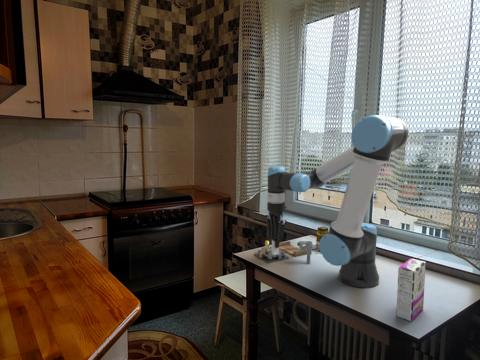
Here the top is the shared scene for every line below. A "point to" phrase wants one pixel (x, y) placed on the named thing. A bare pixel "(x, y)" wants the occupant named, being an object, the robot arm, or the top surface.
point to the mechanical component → (308, 248)
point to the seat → (291, 249)
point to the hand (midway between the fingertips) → (275, 253)
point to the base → (271, 259)
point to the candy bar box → (410, 289)
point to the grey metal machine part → (270, 252)
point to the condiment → (321, 235)
